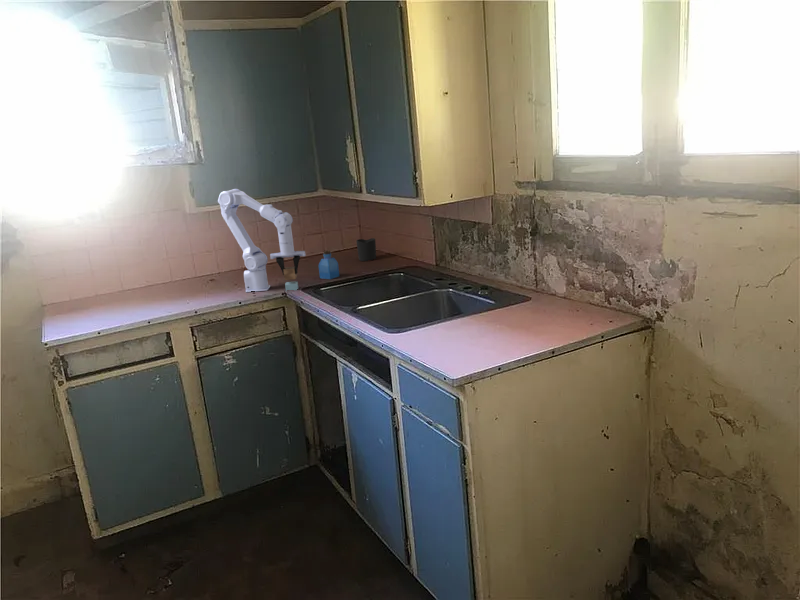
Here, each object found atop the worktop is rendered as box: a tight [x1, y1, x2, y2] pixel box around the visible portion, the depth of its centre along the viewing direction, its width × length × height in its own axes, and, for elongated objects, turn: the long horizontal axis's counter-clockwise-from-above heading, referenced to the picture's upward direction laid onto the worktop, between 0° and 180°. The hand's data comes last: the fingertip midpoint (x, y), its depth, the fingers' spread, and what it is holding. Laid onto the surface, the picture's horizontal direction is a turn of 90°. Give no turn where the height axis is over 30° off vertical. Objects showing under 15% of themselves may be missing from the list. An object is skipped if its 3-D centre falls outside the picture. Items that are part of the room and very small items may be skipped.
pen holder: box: [356, 237, 377, 262], centre depth 325 cm, size 9×9×10 cm
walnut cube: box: [283, 266, 298, 281], centre depth 276 cm, size 4×4×4 cm
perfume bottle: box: [318, 250, 340, 280], centre depth 293 cm, size 6×6×12 cm
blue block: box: [284, 280, 299, 292], centre depth 278 cm, size 5×5×3 cm
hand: (290, 273), depth 276 cm, fingers closed on walnut cube, 4 cm apart
